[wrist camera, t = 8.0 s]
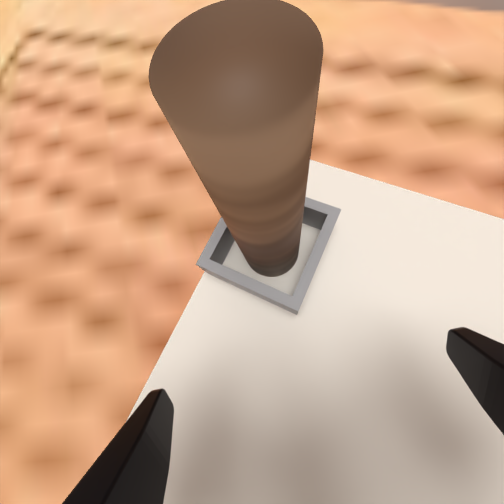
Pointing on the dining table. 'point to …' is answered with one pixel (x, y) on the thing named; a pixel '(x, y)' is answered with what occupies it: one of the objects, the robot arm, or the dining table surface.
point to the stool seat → (339, 358)
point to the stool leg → (246, 116)
